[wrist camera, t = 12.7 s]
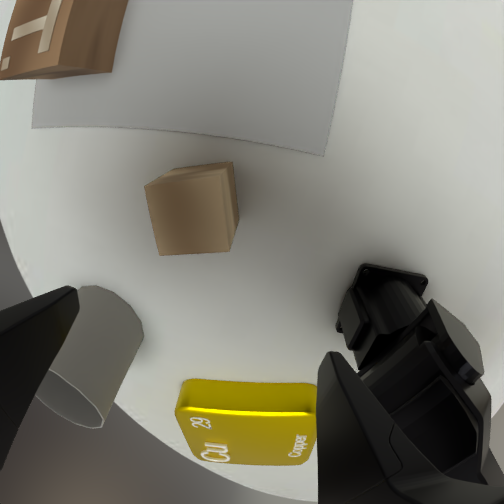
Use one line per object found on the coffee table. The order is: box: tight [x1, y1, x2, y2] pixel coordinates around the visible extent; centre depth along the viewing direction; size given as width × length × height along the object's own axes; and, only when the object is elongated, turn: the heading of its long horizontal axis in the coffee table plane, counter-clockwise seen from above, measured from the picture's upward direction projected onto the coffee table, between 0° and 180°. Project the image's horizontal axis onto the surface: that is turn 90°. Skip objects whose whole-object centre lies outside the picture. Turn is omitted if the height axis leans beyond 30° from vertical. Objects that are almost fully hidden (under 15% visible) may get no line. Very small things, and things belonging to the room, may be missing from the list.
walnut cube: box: [0, 0, 129, 80], centre depth 11 cm, size 6×6×6 cm
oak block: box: [144, 162, 239, 256], centre depth 17 cm, size 4×4×5 cm
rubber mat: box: [32, 0, 353, 156], centre depth 14 cm, size 23×14×1 cm, turn 80°
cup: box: [35, 286, 144, 429], centre depth 21 cm, size 8×8×10 cm
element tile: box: [175, 379, 317, 466], centre depth 29 cm, size 15×15×5 cm
